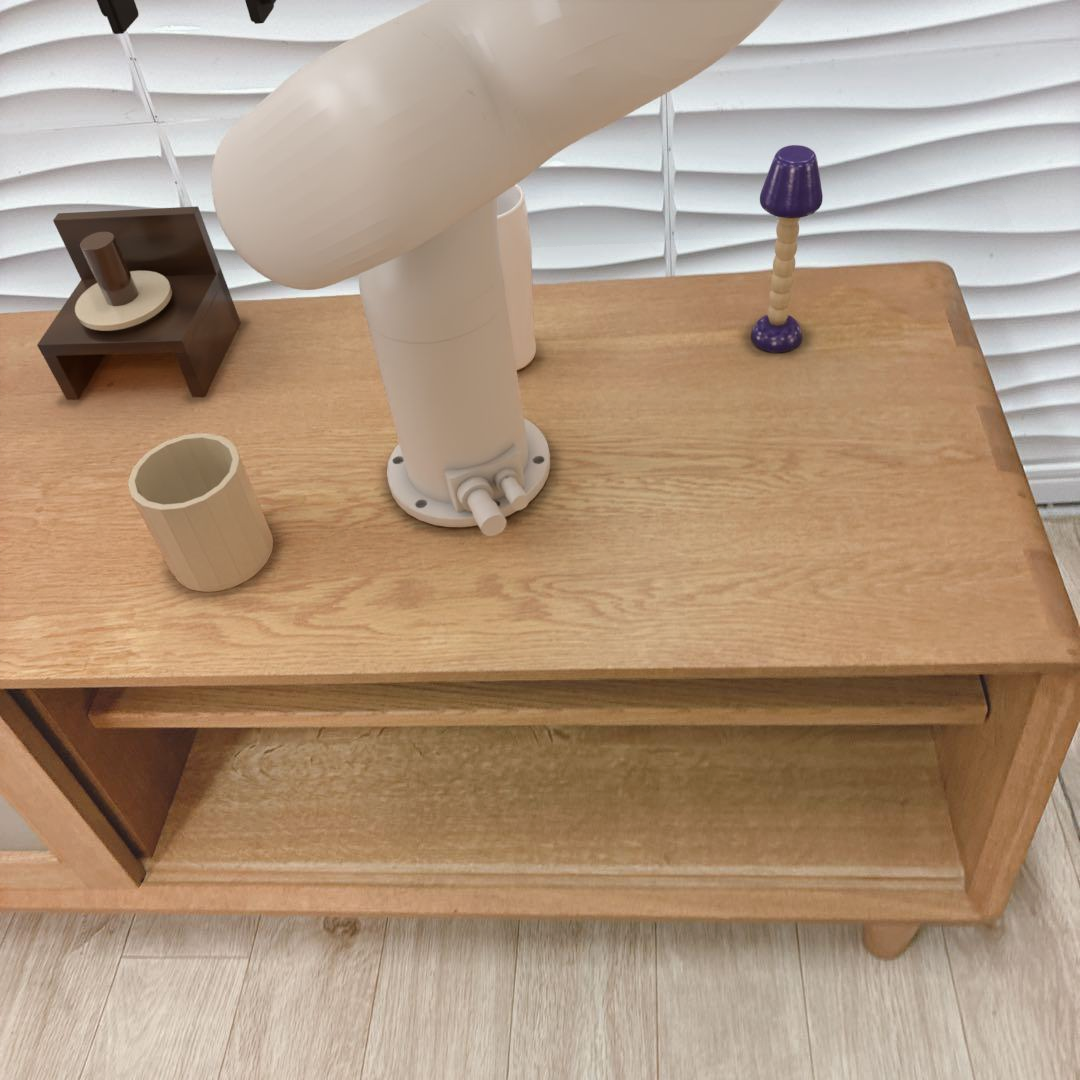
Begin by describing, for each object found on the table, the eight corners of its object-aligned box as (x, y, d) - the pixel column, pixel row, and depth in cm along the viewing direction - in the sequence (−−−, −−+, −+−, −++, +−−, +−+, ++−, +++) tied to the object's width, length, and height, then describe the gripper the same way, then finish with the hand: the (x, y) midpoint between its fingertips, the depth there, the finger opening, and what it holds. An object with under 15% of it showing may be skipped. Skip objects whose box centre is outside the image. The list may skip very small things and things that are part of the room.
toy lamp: (807, 322, 92) (824, 135, 80) (810, 355, 89) (829, 166, 77) (750, 323, 93) (758, 139, 81) (751, 357, 89) (760, 169, 77)
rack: (205, 396, 94) (155, 278, 85) (66, 400, 95) (3, 284, 87) (240, 322, 101) (198, 206, 92) (111, 326, 103) (58, 213, 94)
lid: (182, 317, 92) (153, 248, 87) (86, 348, 90) (51, 279, 85) (166, 272, 97) (138, 204, 92) (75, 300, 95) (42, 232, 91)
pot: (284, 568, 78) (249, 483, 72) (181, 606, 77) (137, 523, 71) (260, 504, 83) (226, 420, 77) (164, 539, 82) (121, 456, 76)
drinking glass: (536, 383, 90) (514, 222, 79) (459, 380, 91) (427, 221, 81) (552, 335, 94) (533, 176, 84) (478, 332, 96) (450, 176, 85)
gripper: (-85, -267, 58) (52, 53, 71) (219, -304, 56) (305, 35, 68) (-22, -295, 63) (95, 8, 76) (258, -330, 61) (332, -11, 73)
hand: (194, 20), depth 72 cm, fingers open, 9 cm apart
